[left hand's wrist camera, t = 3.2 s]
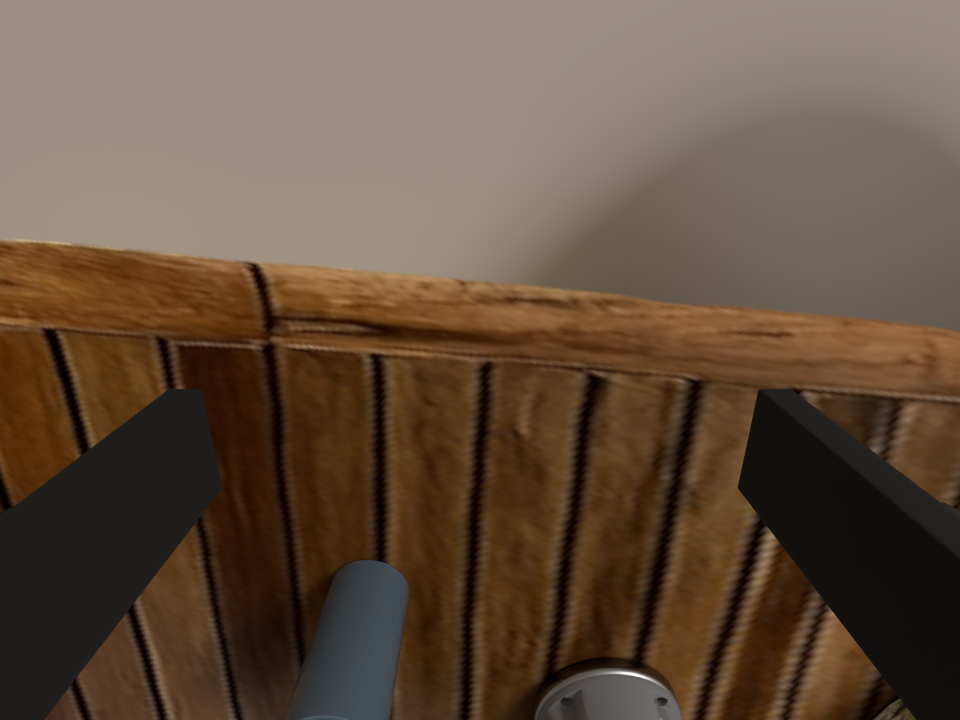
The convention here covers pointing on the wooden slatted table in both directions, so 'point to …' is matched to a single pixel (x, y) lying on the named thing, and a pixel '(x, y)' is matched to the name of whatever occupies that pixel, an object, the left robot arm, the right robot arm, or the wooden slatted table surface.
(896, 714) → the fossil
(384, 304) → the wooden slatted table surface
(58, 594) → the left robot arm
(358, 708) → the bottle
